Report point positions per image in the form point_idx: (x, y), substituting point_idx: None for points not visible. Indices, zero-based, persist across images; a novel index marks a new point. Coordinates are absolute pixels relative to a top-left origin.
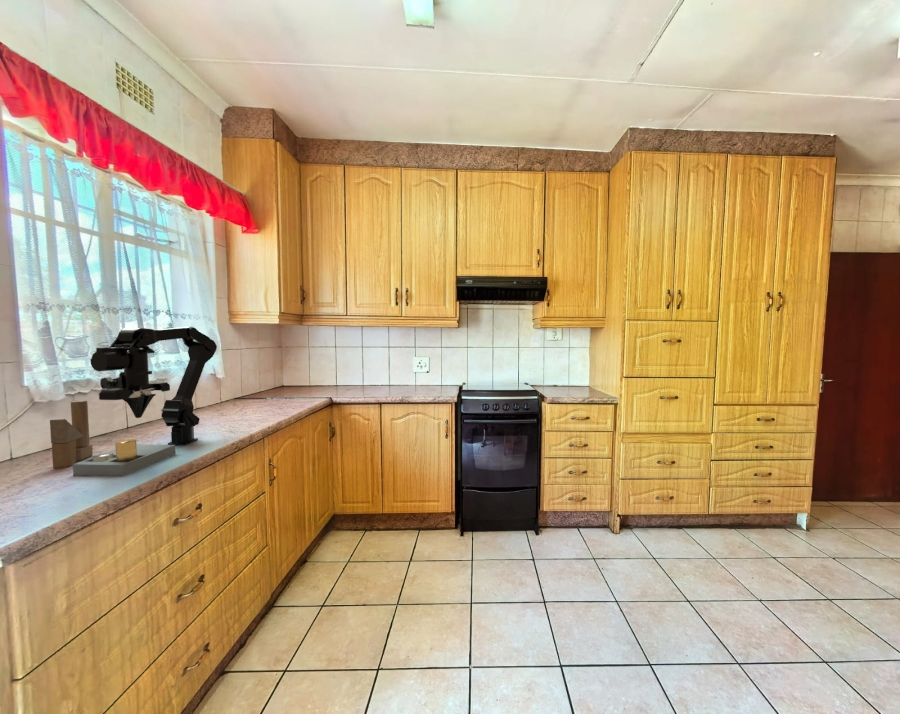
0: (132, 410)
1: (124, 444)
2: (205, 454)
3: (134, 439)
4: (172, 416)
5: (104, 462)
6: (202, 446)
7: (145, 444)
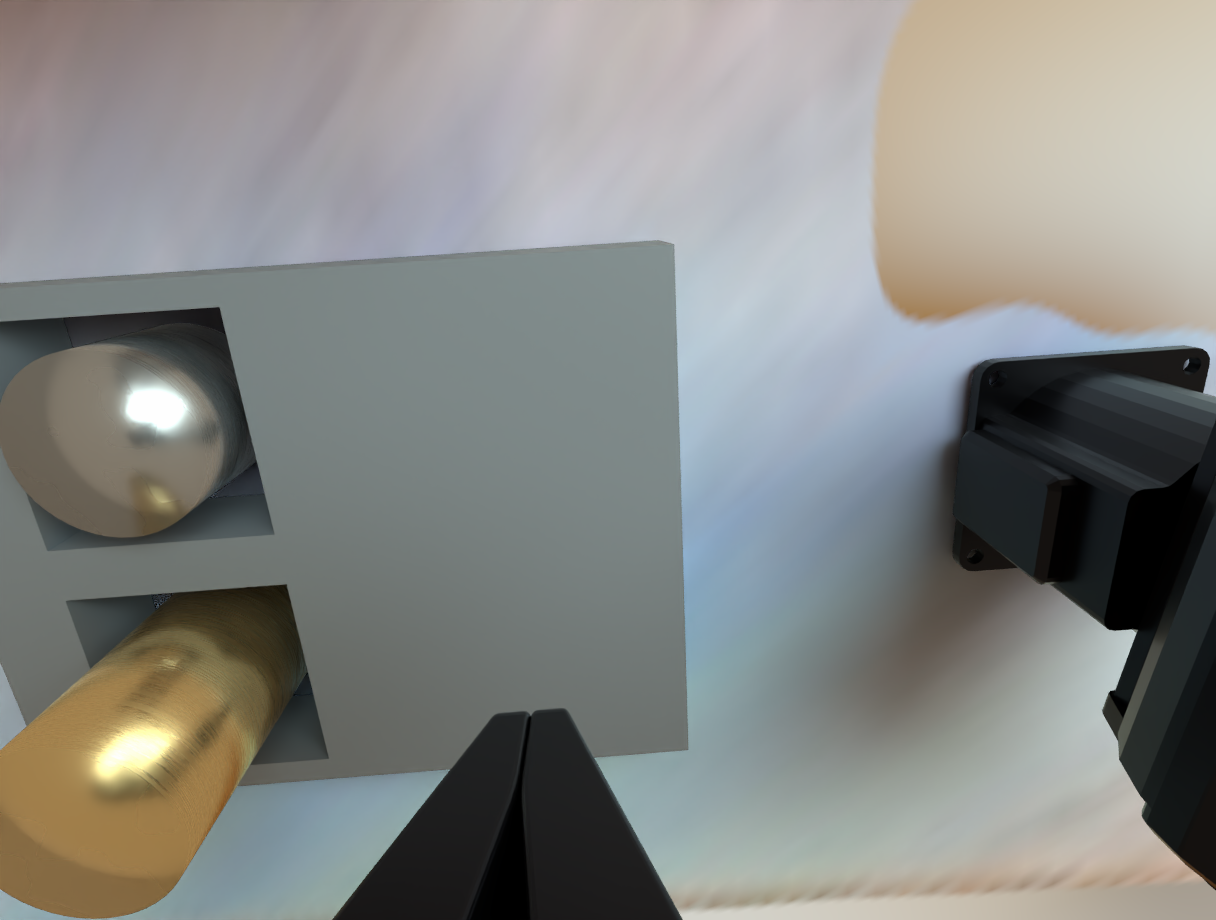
0: (361, 907)
1: (15, 882)
2: (683, 899)
3: (183, 854)
4: (1200, 731)
5: (40, 582)
6: (906, 735)
7: (675, 424)
